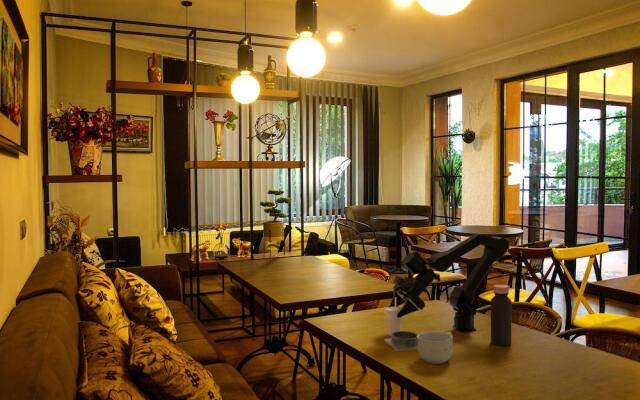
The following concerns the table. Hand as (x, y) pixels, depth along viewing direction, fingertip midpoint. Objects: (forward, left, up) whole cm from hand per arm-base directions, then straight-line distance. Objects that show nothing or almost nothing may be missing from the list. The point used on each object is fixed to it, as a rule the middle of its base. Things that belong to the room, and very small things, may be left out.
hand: (392, 313), depth 183 cm
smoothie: (-1, 0, -8) cm, 8 cm away
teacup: (-3, +27, -8) cm, 29 cm away
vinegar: (-32, +20, -8) cm, 38 cm away
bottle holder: (0, +11, -8) cm, 14 cm away
